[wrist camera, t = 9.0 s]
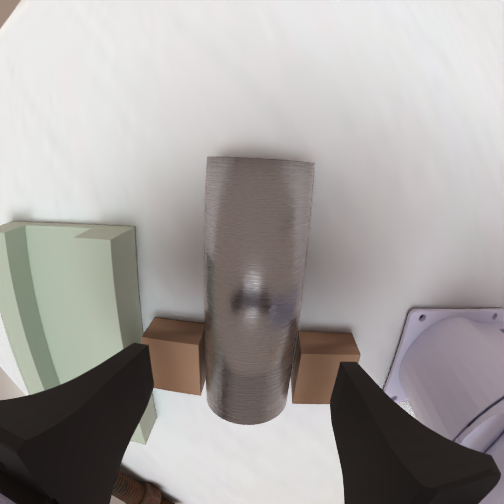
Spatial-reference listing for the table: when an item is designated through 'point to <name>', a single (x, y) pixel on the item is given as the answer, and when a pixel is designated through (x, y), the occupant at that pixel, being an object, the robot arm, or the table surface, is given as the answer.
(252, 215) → the axle
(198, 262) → the table surface
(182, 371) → the bearing block
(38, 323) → the pale green channelled slab
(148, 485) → the bolt
